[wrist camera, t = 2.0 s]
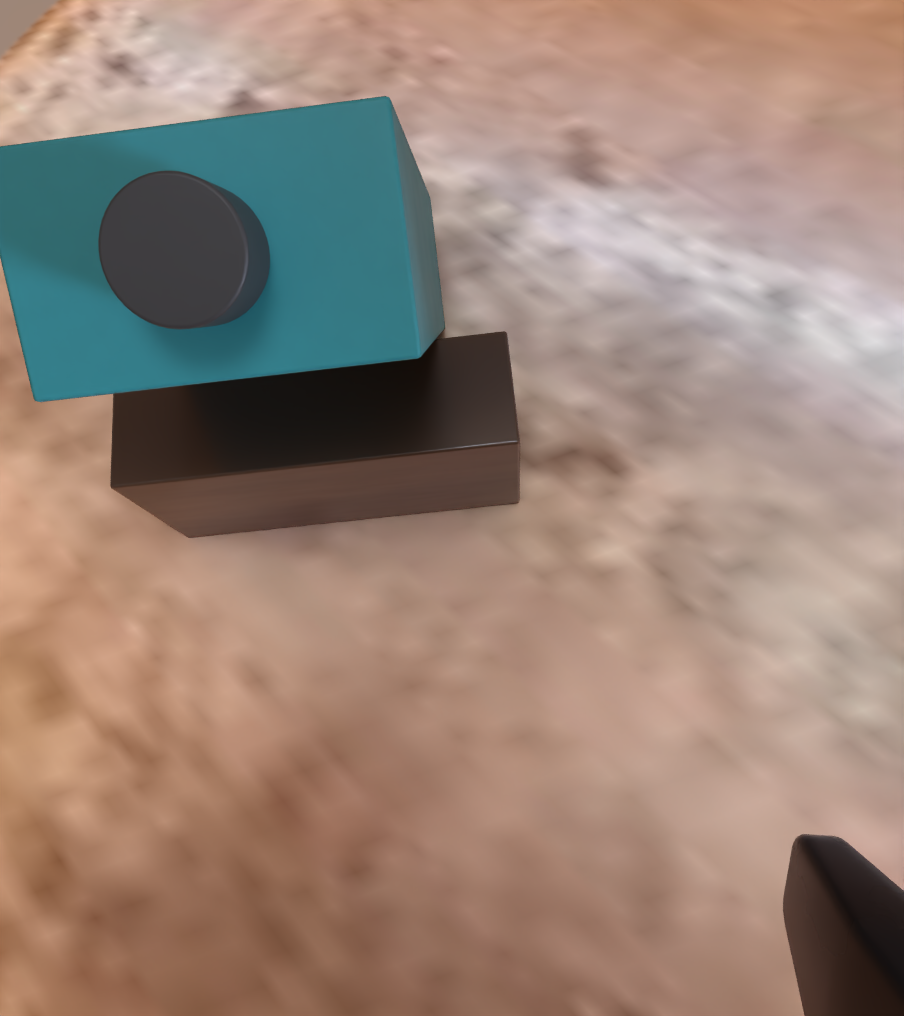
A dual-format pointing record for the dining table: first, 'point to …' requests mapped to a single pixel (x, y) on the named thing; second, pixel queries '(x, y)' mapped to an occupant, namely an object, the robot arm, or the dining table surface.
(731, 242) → the dining table surface
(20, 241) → the plastic bottle
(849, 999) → the robot arm
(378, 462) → the walnut block
